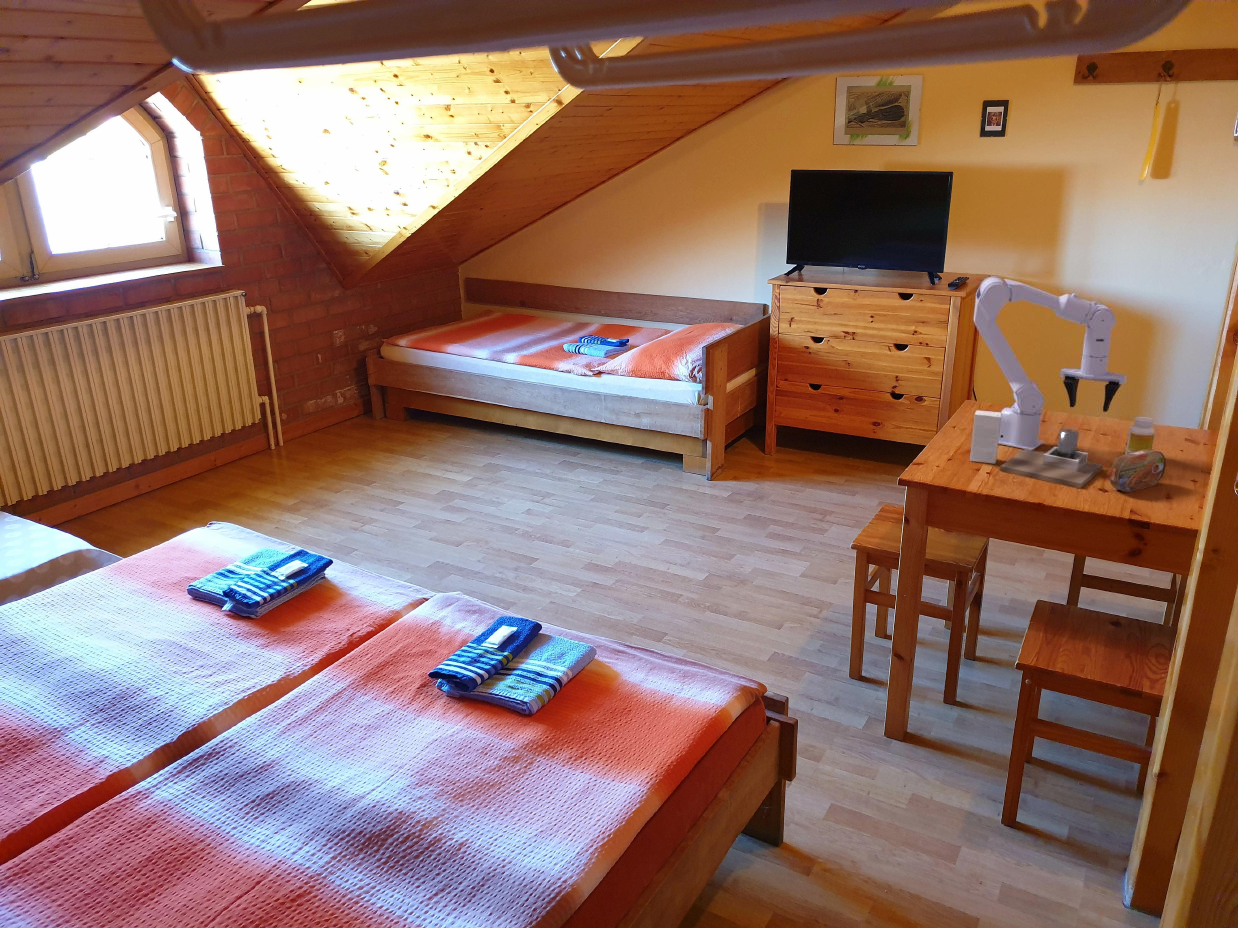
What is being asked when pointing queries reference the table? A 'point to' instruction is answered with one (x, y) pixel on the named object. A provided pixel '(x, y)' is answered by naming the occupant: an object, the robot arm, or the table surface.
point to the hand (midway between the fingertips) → (1088, 408)
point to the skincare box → (985, 436)
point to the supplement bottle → (1140, 435)
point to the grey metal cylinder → (1067, 443)
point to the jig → (1053, 467)
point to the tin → (1137, 470)
